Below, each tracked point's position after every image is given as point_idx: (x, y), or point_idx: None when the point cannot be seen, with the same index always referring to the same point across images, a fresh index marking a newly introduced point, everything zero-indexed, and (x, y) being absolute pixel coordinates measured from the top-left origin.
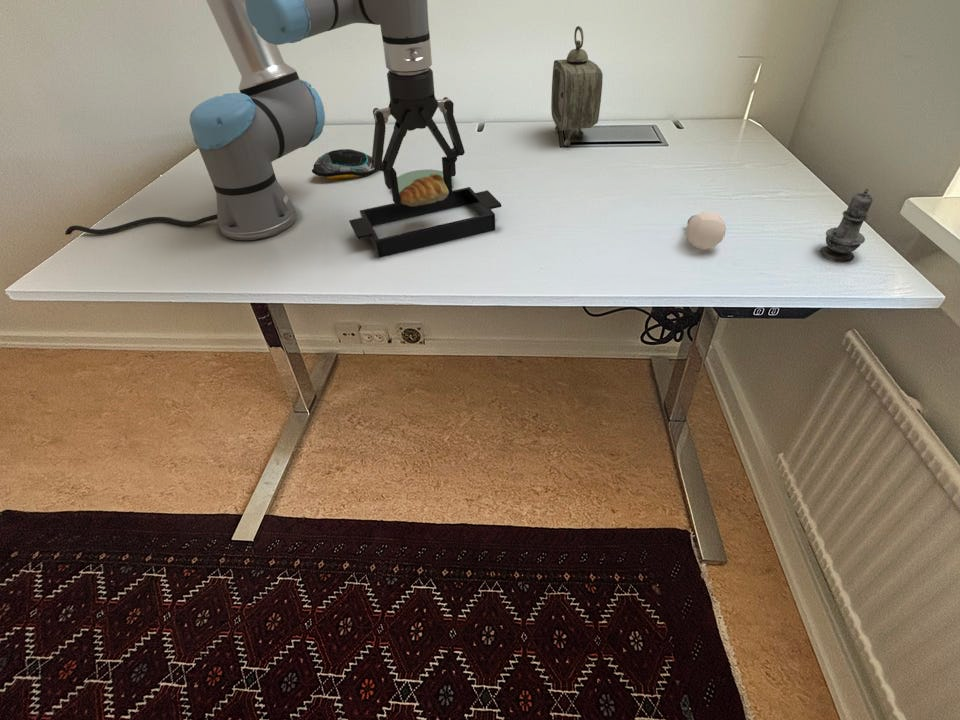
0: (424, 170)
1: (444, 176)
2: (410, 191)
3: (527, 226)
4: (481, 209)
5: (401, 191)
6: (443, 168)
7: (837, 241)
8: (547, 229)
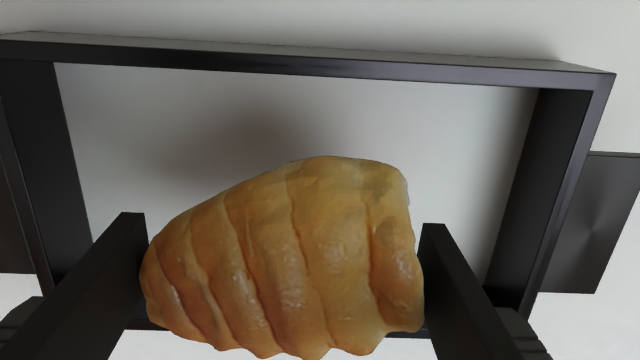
0: None
1: (447, 303)
2: (197, 325)
3: (588, 315)
4: (522, 239)
5: (152, 276)
6: (467, 340)
7: None
8: (618, 349)
